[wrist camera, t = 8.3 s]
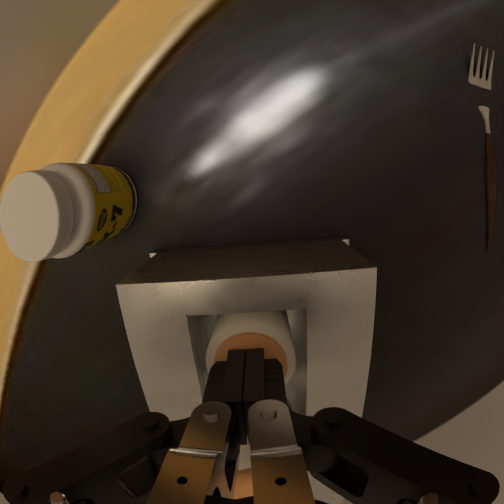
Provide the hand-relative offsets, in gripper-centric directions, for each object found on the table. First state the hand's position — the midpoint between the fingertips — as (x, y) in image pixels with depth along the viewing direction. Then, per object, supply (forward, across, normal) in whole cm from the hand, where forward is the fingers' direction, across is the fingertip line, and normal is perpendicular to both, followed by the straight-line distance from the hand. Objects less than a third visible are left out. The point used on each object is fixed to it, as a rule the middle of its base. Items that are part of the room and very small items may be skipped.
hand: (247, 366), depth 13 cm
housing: (+7, 0, +6) cm, 9 cm away
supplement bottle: (+8, +9, -7) cm, 14 cm away
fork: (+8, -18, -10) cm, 22 cm away
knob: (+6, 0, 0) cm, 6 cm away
